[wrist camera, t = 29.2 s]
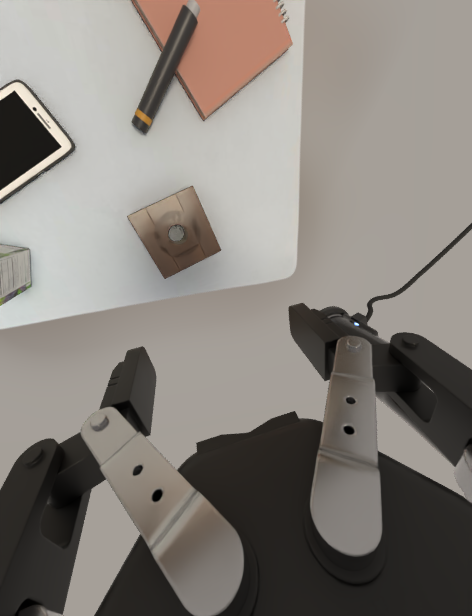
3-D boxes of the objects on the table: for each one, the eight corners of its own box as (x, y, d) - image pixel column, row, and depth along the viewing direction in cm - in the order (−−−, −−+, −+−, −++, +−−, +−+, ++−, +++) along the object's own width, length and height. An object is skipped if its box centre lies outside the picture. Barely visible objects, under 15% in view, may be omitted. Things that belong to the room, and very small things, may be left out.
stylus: (192, -7, 25) (134, 125, 30) (205, 14, 27) (148, 135, 32) (184, -8, 26) (128, 119, 31) (197, 12, 28) (142, 130, 33)
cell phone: (-85, 152, 27) (-93, 151, 26) (23, 78, 27) (19, 74, 27) (-15, 214, 31) (-20, 214, 30) (79, 148, 31) (77, 146, 30)
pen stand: (188, 187, 37) (192, 185, 33) (215, 246, 42) (221, 250, 38) (129, 215, 36) (126, 216, 32) (163, 273, 41) (164, 279, 37)
